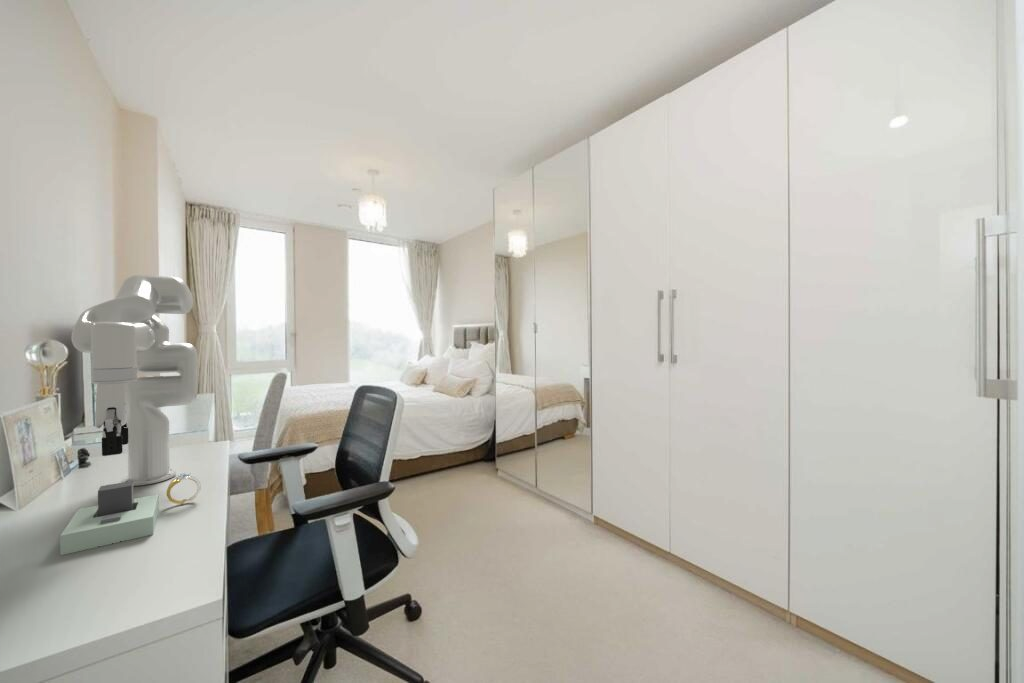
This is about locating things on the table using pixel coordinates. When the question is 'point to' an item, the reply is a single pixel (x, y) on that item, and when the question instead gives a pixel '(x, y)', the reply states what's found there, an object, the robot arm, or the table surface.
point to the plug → (115, 498)
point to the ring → (177, 480)
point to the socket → (109, 526)
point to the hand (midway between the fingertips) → (115, 449)
